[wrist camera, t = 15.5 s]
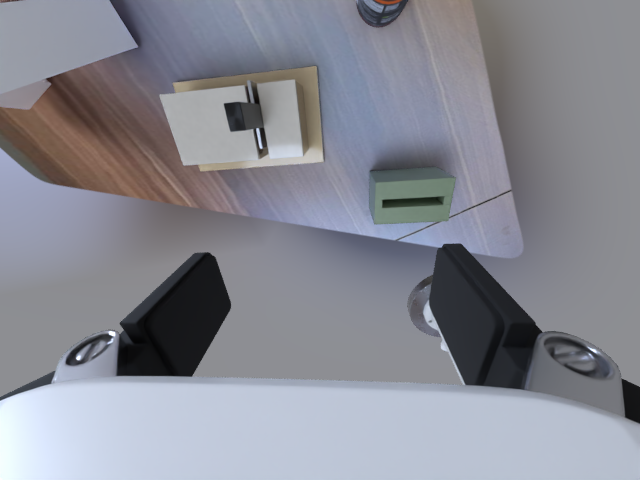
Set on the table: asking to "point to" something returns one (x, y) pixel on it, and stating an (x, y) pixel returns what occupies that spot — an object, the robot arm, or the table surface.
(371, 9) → the supplement bottle
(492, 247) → the table surface
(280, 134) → the cake
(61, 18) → the pile of blocks
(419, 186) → the knife block
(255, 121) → the knife
